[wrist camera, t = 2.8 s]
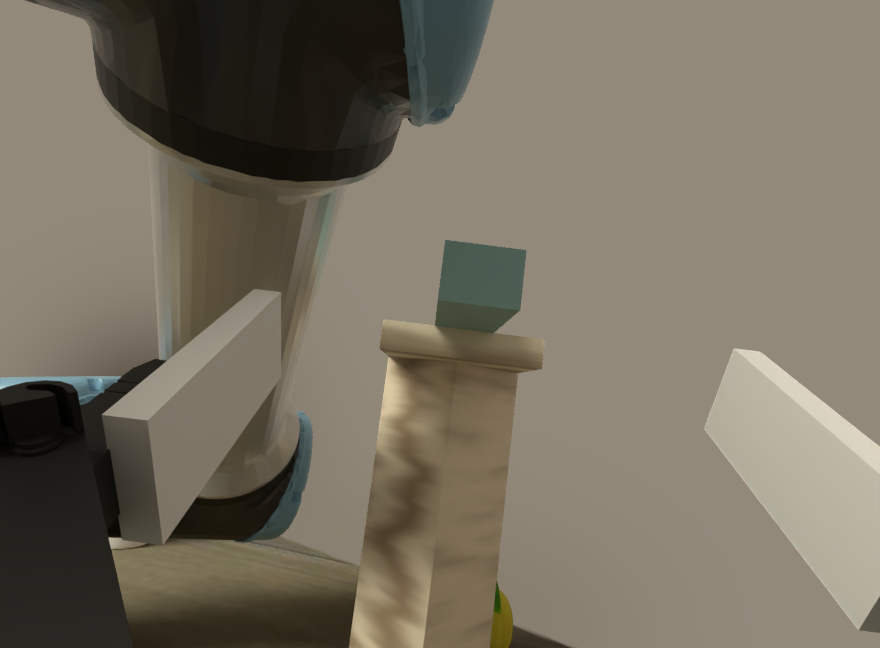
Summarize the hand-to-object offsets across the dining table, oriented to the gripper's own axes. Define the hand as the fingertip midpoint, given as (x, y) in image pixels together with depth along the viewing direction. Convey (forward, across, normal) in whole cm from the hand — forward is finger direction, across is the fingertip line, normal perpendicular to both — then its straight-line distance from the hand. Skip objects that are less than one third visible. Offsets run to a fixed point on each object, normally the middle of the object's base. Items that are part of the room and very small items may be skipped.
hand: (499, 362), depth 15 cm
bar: (+21, 0, -8) cm, 22 cm away
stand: (+11, 0, -37) cm, 39 cm away
